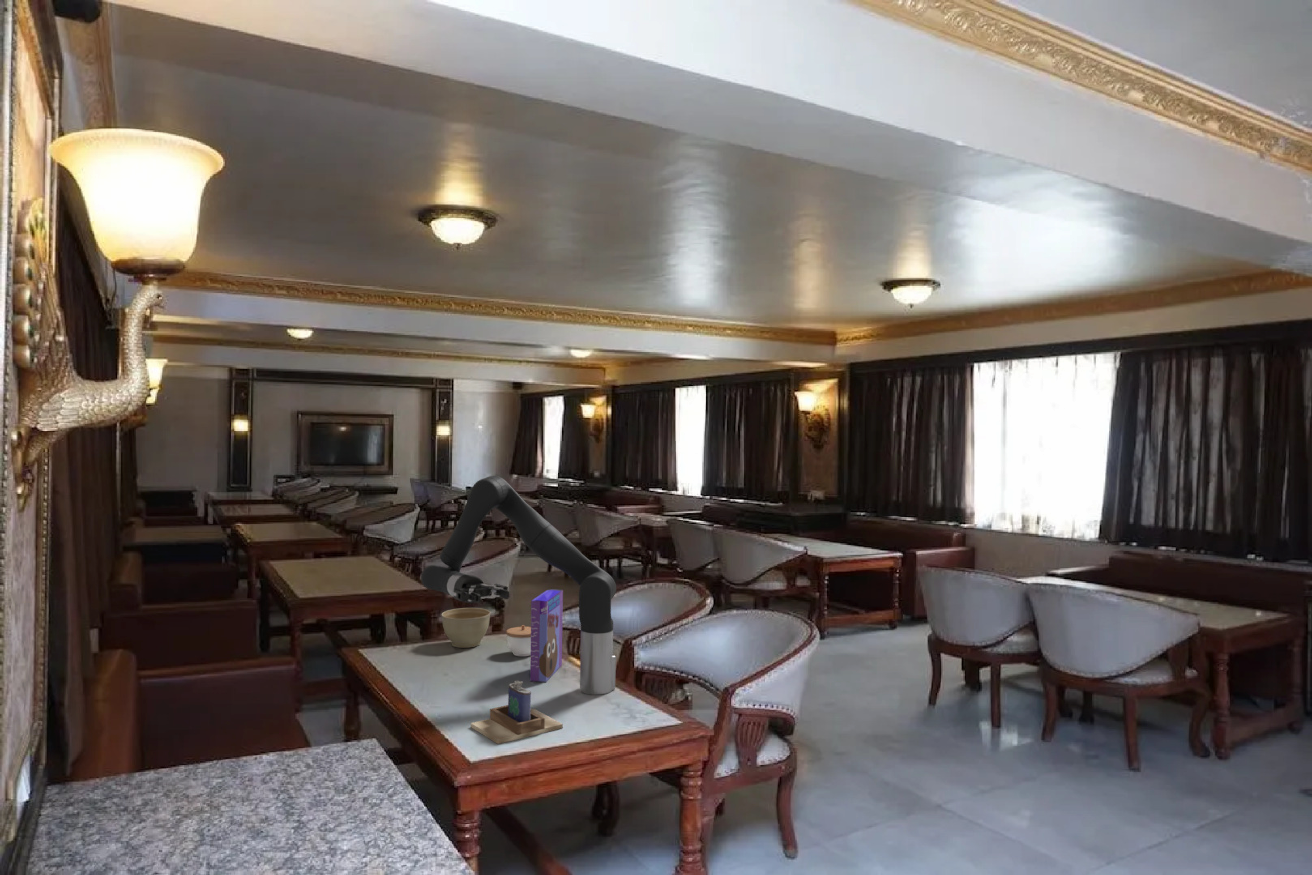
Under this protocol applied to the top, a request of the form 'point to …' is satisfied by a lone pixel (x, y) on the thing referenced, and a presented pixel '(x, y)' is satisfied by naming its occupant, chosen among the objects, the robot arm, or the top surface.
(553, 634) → the cereal box
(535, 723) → the slot board
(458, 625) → the planter bowl
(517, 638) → the lidded jar
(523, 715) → the flask
